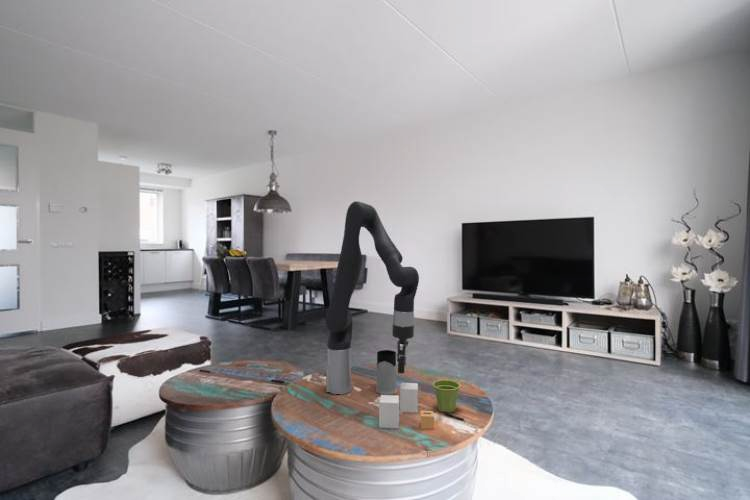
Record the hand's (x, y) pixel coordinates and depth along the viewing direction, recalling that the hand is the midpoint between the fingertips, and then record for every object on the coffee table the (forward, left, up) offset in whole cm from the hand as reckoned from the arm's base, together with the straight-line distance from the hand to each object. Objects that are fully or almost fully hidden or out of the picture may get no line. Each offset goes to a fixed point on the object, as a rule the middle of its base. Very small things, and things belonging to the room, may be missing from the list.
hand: (401, 368), depth 132 cm
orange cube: (+9, -12, -14) cm, 20 cm away
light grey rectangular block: (+3, 0, -14) cm, 14 cm away
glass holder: (-6, +19, -14) cm, 24 cm away
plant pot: (+16, +1, -14) cm, 21 cm away
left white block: (-4, -12, -14) cm, 19 cm away
